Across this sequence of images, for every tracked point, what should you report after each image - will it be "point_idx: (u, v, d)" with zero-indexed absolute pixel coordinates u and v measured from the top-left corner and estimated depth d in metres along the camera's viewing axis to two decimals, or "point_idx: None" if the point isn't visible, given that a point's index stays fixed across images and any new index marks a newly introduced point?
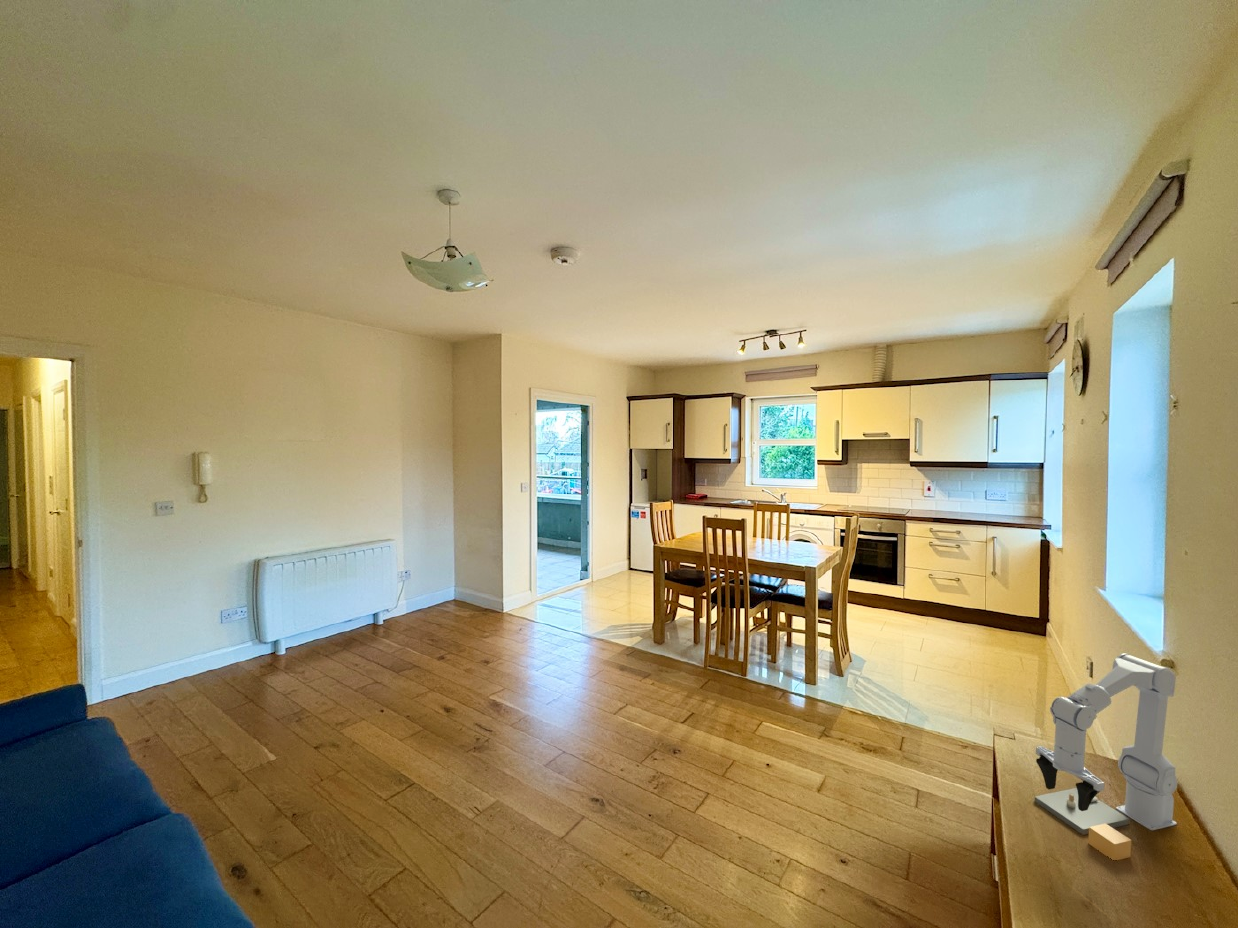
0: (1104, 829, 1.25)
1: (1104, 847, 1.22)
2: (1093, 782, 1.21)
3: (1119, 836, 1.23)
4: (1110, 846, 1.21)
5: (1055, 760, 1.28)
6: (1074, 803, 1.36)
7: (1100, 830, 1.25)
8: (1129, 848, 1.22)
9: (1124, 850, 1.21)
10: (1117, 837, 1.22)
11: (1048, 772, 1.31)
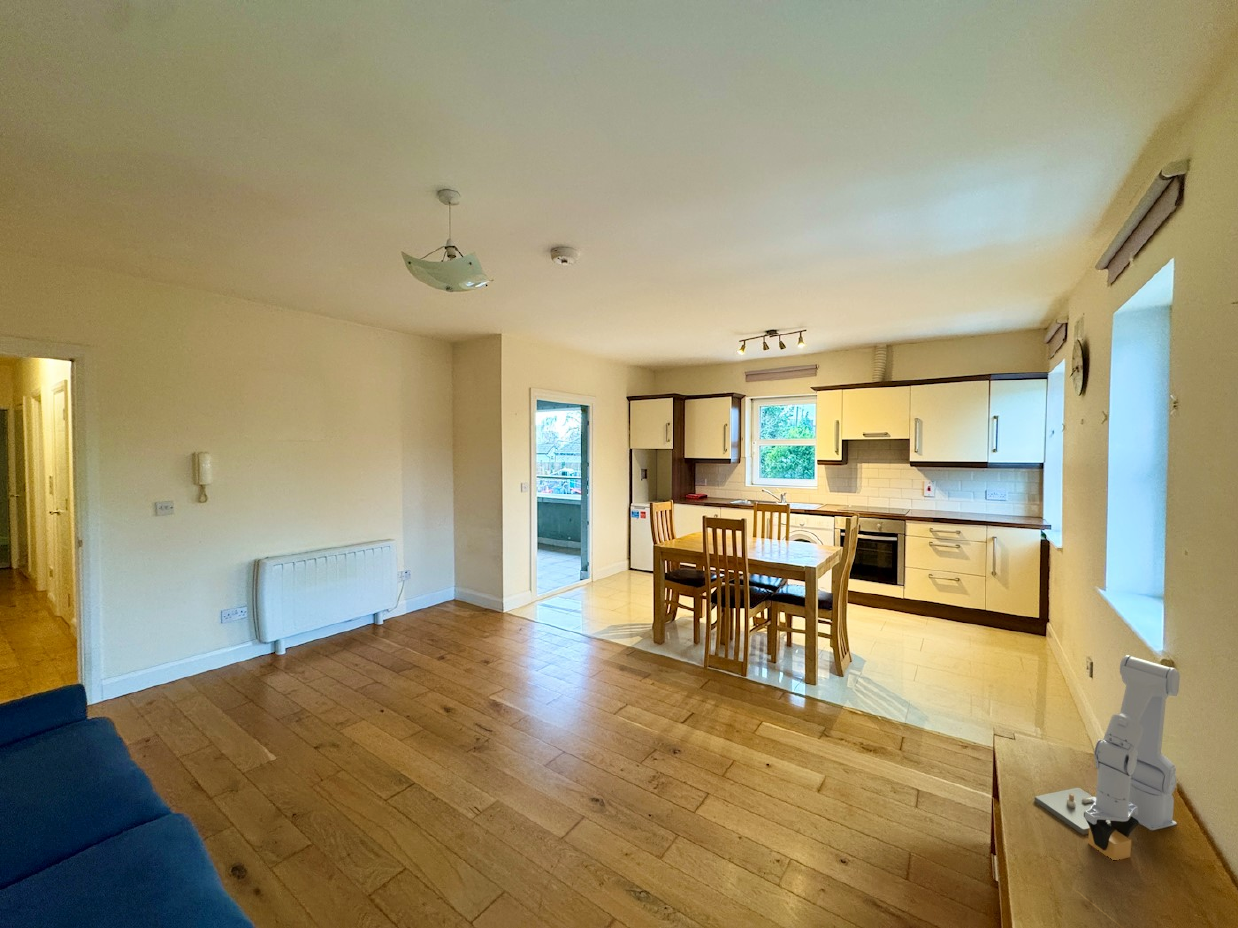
0: None
1: None
2: None
3: (1119, 836, 1.23)
4: (1110, 846, 1.21)
5: None
6: (1074, 803, 1.36)
7: None
8: (1129, 848, 1.22)
9: (1124, 850, 1.21)
10: (1117, 837, 1.22)
11: (1113, 821, 1.25)
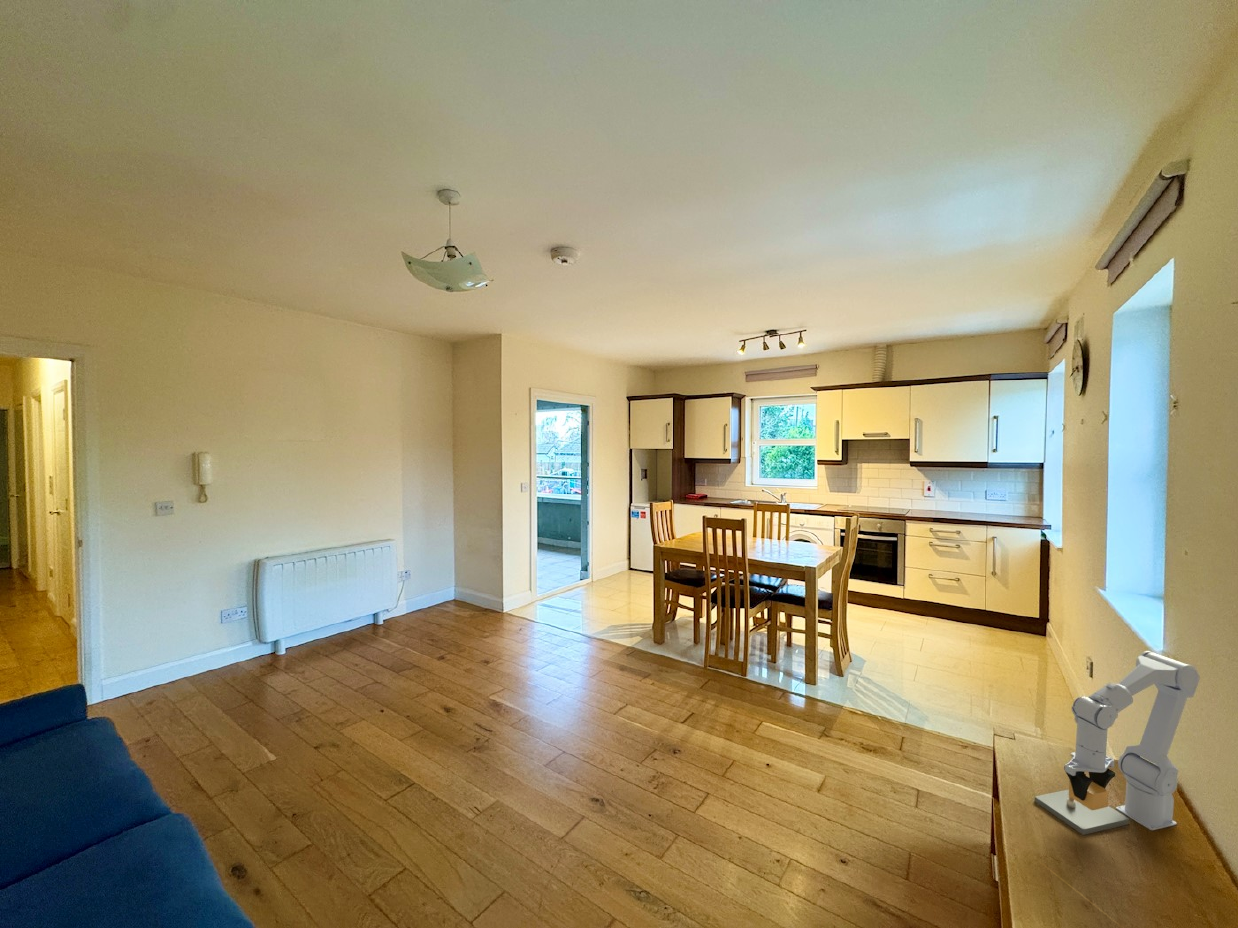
0: None
1: None
2: None
3: (1097, 787, 1.30)
4: (1089, 797, 1.28)
5: None
6: (1074, 803, 1.36)
7: None
8: (1106, 798, 1.29)
9: (1102, 800, 1.28)
10: (1096, 788, 1.29)
11: (1091, 774, 1.32)
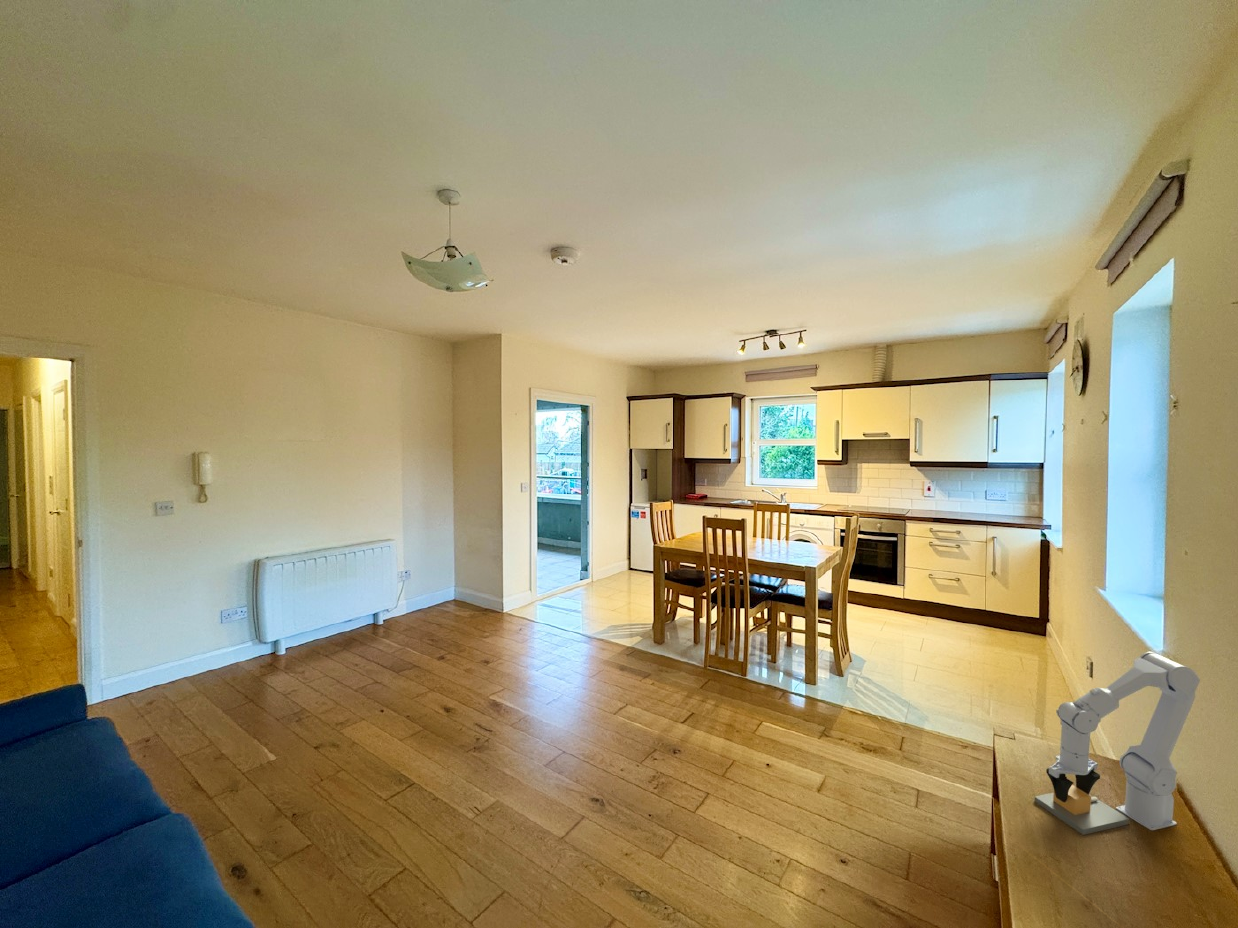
0: None
1: (1067, 803, 1.35)
2: None
3: (1080, 793, 1.35)
4: (1072, 801, 1.34)
5: None
6: None
7: None
8: (1089, 803, 1.34)
9: (1084, 805, 1.34)
10: (1079, 794, 1.35)
11: (1078, 776, 1.38)
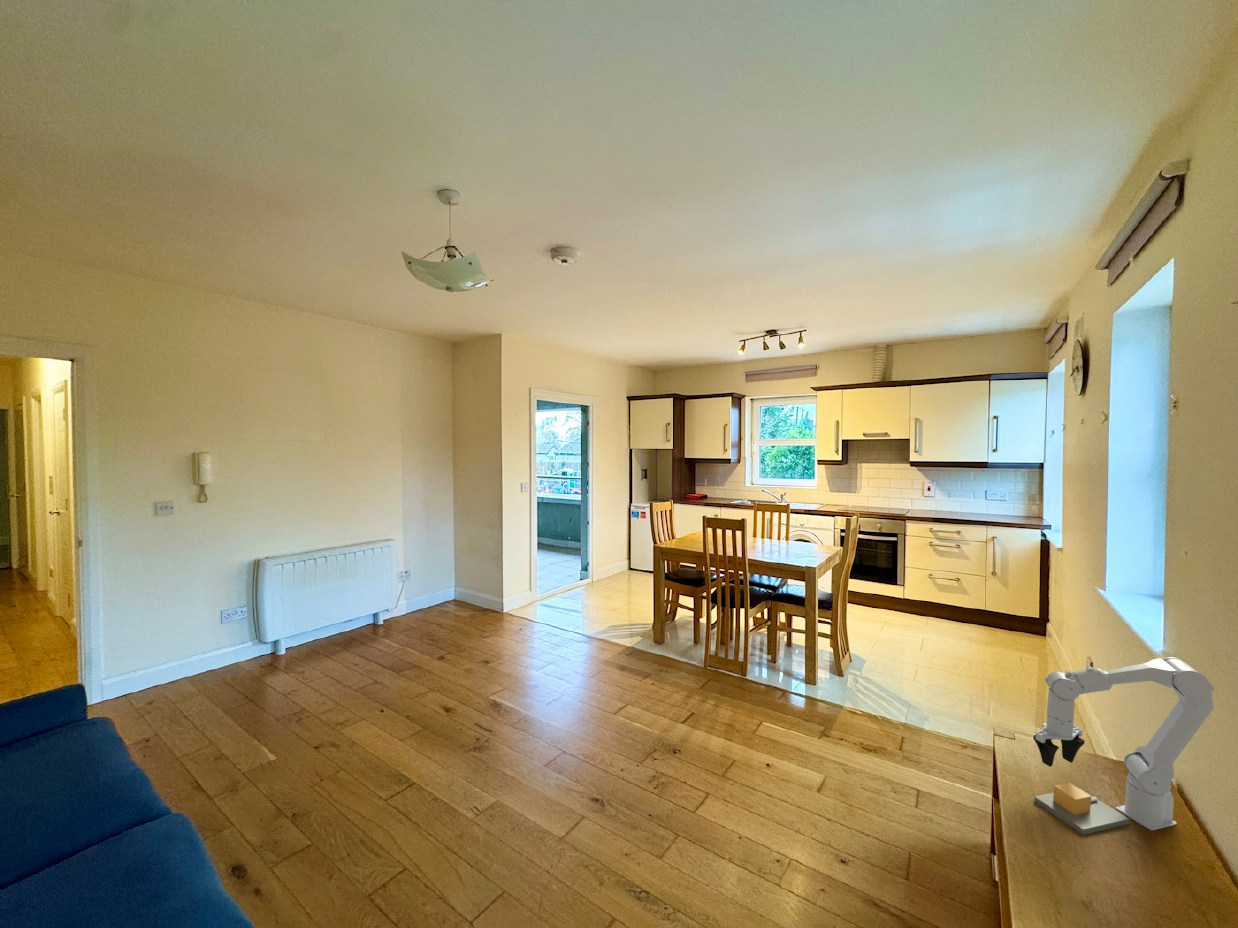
0: (1067, 787, 1.37)
1: (1067, 803, 1.35)
2: None
3: (1080, 793, 1.35)
4: (1072, 801, 1.34)
5: None
6: None
7: (1064, 788, 1.37)
8: (1089, 803, 1.34)
9: (1084, 805, 1.34)
10: (1079, 794, 1.35)
11: (1063, 742, 1.44)
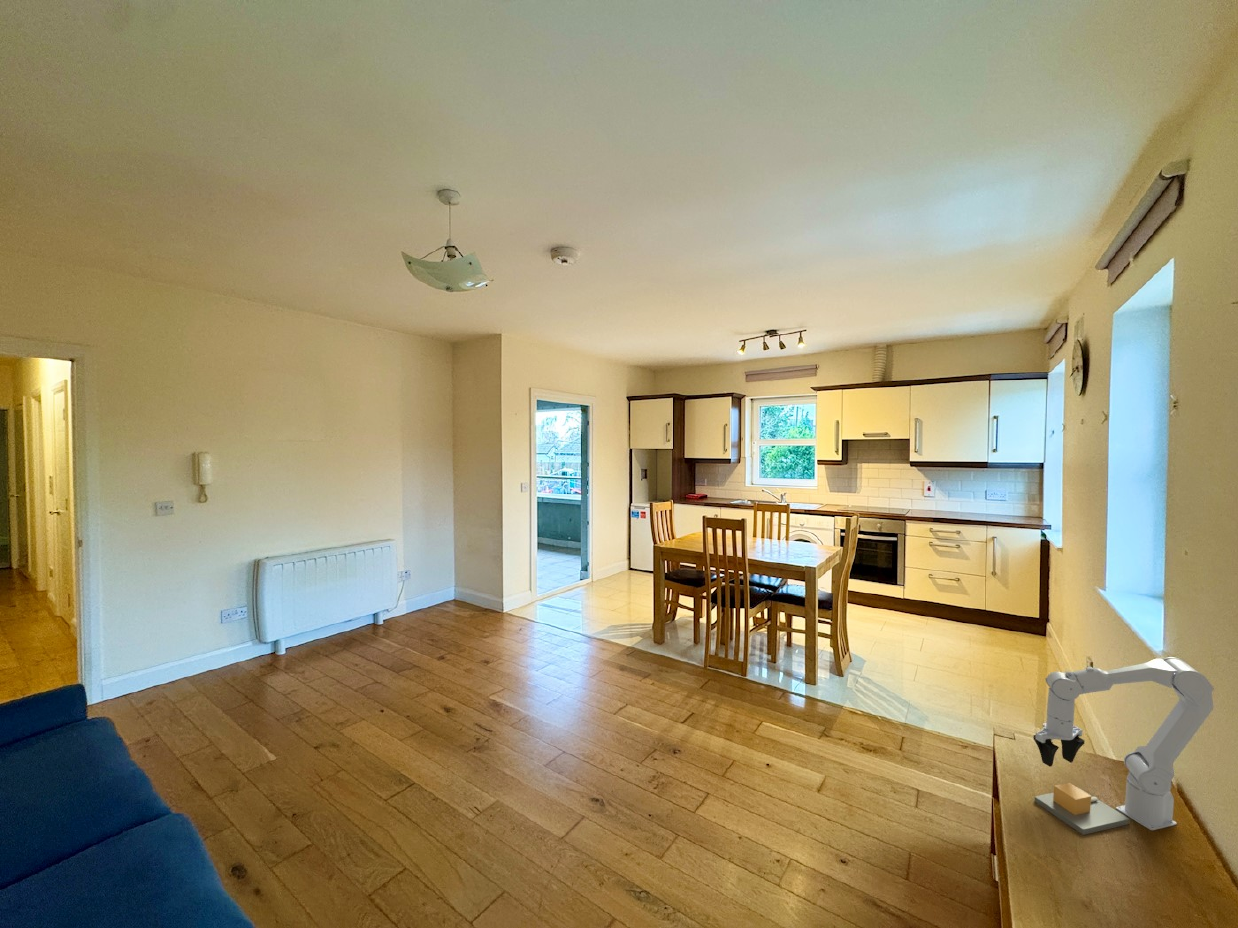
0: (1067, 787, 1.37)
1: (1067, 803, 1.35)
2: None
3: (1080, 793, 1.35)
4: (1072, 801, 1.34)
5: None
6: None
7: (1064, 788, 1.37)
8: (1089, 803, 1.34)
9: (1084, 805, 1.34)
10: (1079, 794, 1.35)
11: (1063, 742, 1.44)
